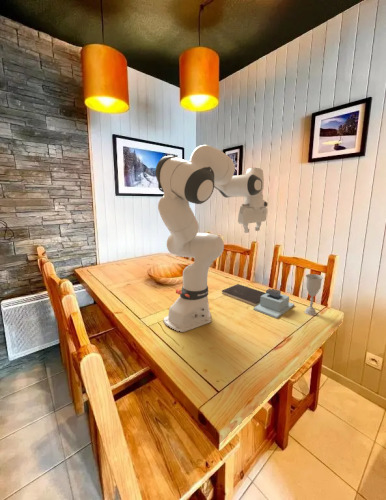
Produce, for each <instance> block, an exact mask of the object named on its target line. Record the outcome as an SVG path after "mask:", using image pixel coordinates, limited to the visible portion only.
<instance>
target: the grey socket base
mask: <svg viewBox="0 0 386 500" xmlns="http://www.w3.org/2000/svg"><path fill="white" fill-rule="evenodd" d="M265 293H266V292H265ZM294 306H295V303H293V302H290V296H289V295H286V294H282V293H281V294H280V299H279V300H277V299H273V298H270V294H267V293H266V294H264V295H262V296H261V298H260V304H259V305H257V306H254V307H253V310H254V311H256V312H258V313H260V314H261V313H262V314H264V315H266V316H269V317H272V318H274V319H279V318H280V317H281V316H282V315H284V314H285V313H286V312H288V311H289V310H290V309H292V308H293V307H294Z"/></svg>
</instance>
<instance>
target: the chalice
mask: <svg viewBox="0 0 386 500" xmlns="http://www.w3.org/2000/svg"><path fill="white" fill-rule="evenodd" d="M305 277H306V282H305V287H306V290H307V292H308V295H309V296H310V299H309V300H310V302H309V306H308V307H306V308H305V310H304V313H305V314H306V315H308V316H316V315H317V311H316V309H315V308H314V307H313V305H314V297H315V296H317V295H318V294H319V293H318V292H319V291H320V290H321V287H322V279H324V276H323V275H319V274H316V273H313V274H312V273H308V274H306V275H305Z"/></svg>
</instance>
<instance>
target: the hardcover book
mask: <svg viewBox="0 0 386 500" xmlns="http://www.w3.org/2000/svg"><path fill="white" fill-rule="evenodd" d="M221 294H223V295H225V296H228V297H230V298H233V299H236V300H238V301H241V302H244V303H245V304H249V305H251V306H254V307H256V306H257V305H259V304H260V298H261V296H262V295H264V294H266V292H264V291H261V290H259V289H255V288H252V287H249V286H246V285H242V284H239V283H238V284H235V285H232V286H229V287H227V288H225V289H222V290H221Z"/></svg>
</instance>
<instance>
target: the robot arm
mask: <svg viewBox="0 0 386 500" xmlns="http://www.w3.org/2000/svg"><path fill="white" fill-rule="evenodd" d="M235 169H236V167H235V163H234V161H233V159H232V158H231V157H230V156H229V155H228V154H226V153H224V152H223V151H222V150H220V149H219V148H216V147H214V146H212V145H208V144H203V145H199V146H197V147H195V149H194V150H193V152H192V153H191V156H190V159H189V160H185V159H182V158H179V157H177V156H174V155H167V156H166V155H165V156H163V157H162V158H160V159H159V161H158V162H157V164H156V167H155V178H156V181H157V185H158V186H157V188H158V190H159V191H160V192H162V193H163V196H162V197H160V199H159V201H158V204H157V208H158V212H159V215H160V217H161V220H162V222H163V223H164V225H165V227H166V228H167V229H168V231H169V232H170V235H169V236H168V238H167V240H166V247H167V248H166V249H167V251H168V252H169V253H170V254H171V255H174V256H177V257H181V258H182V257H184V258H194V259H193V260H194V261H193V262H192V263H190V264H189V265H187V266H185V268H184V269H183V271H182V287H181V289H180V288H177V289H175V294H177V295H179V297H177V299H176V300H175V301H174V303H172V305H171V306H170V307H169V309H168V315H167V316H165V317H163V323H164V325H166V326H167V327H168V326H169V327H170V328H169V327H168V328H169V329H171V328H172V329H171V330H173V329H174V330H173V331H175V330H176V332H179V331H180V332H179V333H184V332H188V331H191V330H193V329H196V328H199V327H201V326H204V325H207V324H210V323H212V318H211V317H212V314H211V311H210V306H209V305H210V304H209V303H210V302H209V297H208V296H209V286H208V274H209V269H210V267H211V265H212V264H213V262H214V261H216V260H217V259H218V258H220V257H221V256H222V254H223V252H224V250H225V249H224V248H225V244H224V240H223V238H222V237H221V236H220V235H219V234H214V233H210V232H199V229H200V228H199V227H200V226H199V225H200V224H199V222H198V220H197V218H196V216H195V214H194V212H193V210H192V208H191V207H190V203H192V204H195V205H202V204H204V203H205V202H207V201H208V200H209V199H210V198H211V196H212V195H213V192H214V189H216V190H218V192H219V193H220V194H221V196H222V197H224V198H237V197H238V198H239V197H240V198H241V197H244V198H243V200H244V201H243V203H242V204H241V205H240V207H239V210H238V216H237V217H238V218H237V223H238V224H240V225H242V227H243V229H244V230H243V231H244V233H245V234H247V233H250V228H249V224H255V223H256V226H255V227H254V230H255V232H258V231H261V230H260V227H261V225H262V222H266V220H267V218H268V206H269V203H268V202H267V201H266V200H265V199H264V194H263V190H264V187H265V185H264V184H265V182H264V181H265V179H264V171H263V170H262V169H261V168H258V167H250V168H248V169H246V172H245V173H244V174H240V175H239V174H238V175H234V174H235Z"/></svg>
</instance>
